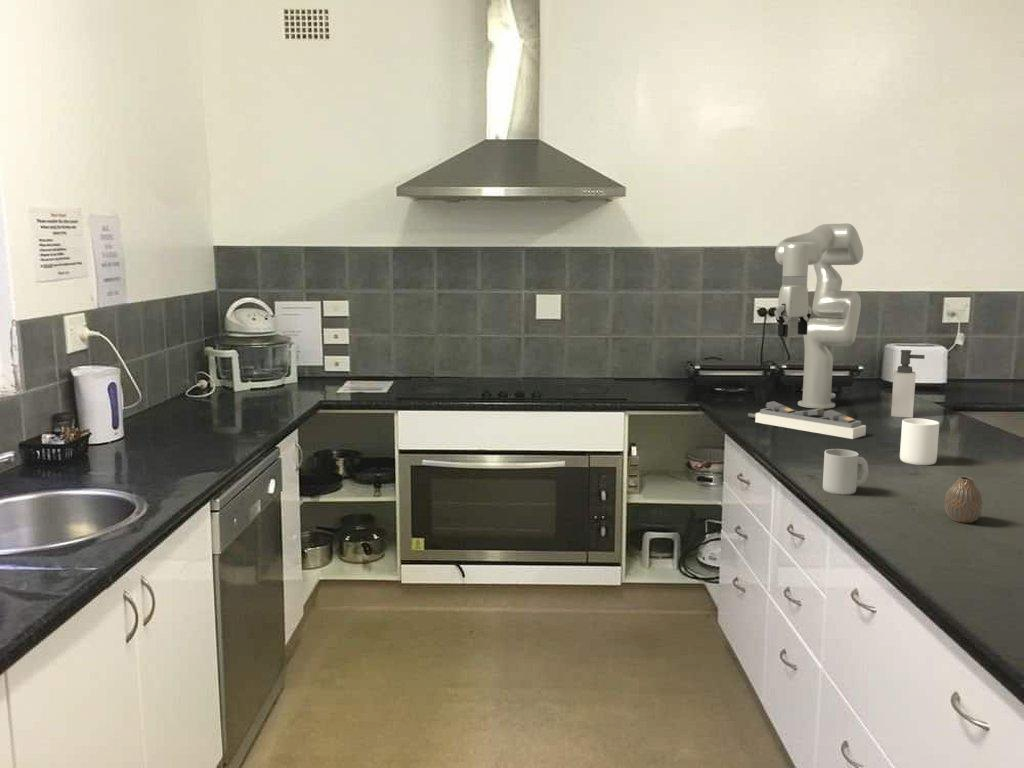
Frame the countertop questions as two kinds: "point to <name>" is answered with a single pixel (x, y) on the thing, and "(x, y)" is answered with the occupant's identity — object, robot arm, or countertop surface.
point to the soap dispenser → (904, 387)
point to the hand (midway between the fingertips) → (792, 335)
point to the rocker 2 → (810, 412)
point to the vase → (964, 501)
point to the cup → (843, 471)
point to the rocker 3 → (838, 416)
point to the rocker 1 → (779, 407)
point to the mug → (919, 441)
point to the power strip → (810, 423)
